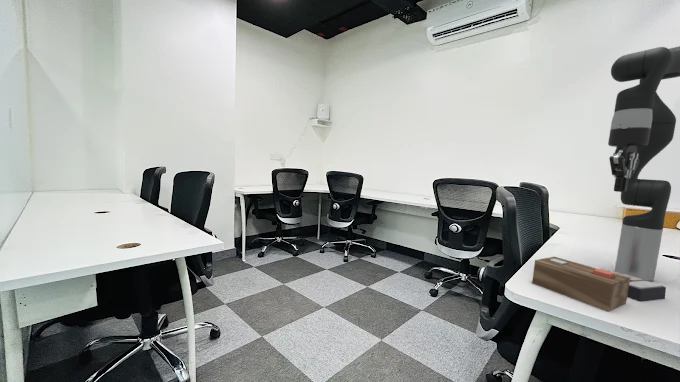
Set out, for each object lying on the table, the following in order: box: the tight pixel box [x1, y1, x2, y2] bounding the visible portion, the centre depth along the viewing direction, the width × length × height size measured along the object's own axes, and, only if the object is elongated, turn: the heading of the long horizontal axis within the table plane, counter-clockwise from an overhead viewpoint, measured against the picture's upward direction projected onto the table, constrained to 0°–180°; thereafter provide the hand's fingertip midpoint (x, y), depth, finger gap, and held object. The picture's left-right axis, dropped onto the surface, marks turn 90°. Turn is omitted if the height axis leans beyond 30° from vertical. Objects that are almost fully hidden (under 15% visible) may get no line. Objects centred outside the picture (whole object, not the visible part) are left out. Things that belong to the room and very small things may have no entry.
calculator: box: [600, 268, 667, 302], centre depth 80 cm, size 11×4×15 cm
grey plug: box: [549, 259, 568, 265], centre depth 79 cm, size 3×3×7 cm
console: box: [531, 256, 630, 312], centre depth 75 cm, size 11×17×7 cm, turn 27°
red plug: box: [593, 268, 615, 279], centre depth 70 cm, size 3×3×7 cm
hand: (619, 191), depth 74 cm, fingers closed
